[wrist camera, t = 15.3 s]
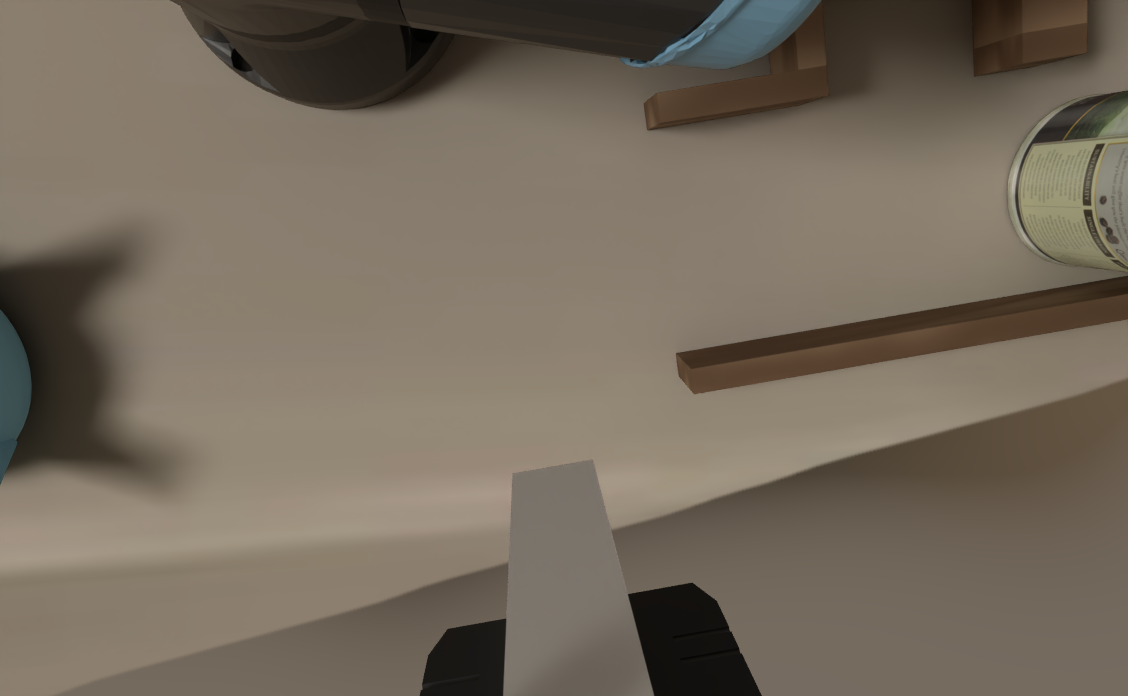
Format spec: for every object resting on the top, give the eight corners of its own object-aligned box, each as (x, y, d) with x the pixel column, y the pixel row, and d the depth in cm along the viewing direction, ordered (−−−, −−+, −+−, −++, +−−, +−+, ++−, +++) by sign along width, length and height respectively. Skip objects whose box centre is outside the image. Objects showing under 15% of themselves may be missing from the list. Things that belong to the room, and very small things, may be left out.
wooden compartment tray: (628, -19, 38) (643, -51, 33) (1254, -120, 39) (1360, -165, 34) (679, 376, 43) (698, 399, 38) (1231, 281, 44) (1319, 291, 39)
